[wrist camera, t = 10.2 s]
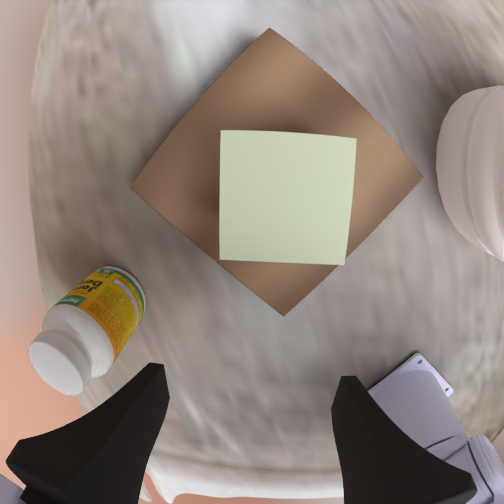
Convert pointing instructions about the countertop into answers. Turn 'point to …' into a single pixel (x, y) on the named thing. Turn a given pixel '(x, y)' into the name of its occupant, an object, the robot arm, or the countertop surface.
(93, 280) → the supplement bottle
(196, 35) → the countertop surface
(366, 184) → the walnut base
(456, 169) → the honey pot
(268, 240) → the sage block
